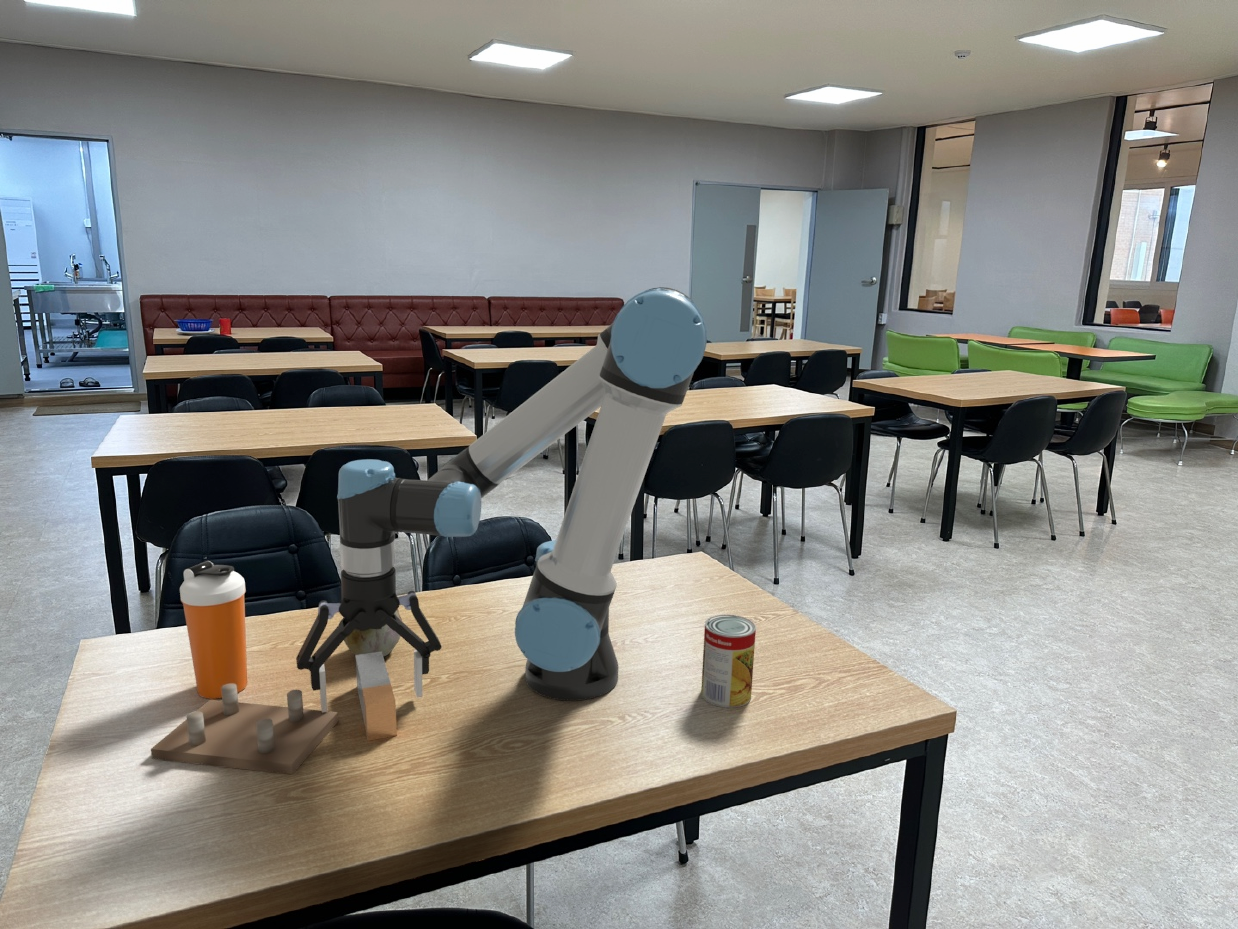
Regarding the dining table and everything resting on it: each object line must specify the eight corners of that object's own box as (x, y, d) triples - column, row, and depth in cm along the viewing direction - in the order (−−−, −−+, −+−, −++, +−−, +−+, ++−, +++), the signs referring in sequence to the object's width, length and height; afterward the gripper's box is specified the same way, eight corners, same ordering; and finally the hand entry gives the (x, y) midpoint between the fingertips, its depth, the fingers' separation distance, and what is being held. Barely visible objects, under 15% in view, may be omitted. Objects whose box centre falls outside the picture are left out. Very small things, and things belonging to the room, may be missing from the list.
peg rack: (338, 721, 121) (336, 687, 119) (292, 774, 108) (289, 737, 107) (211, 708, 123) (207, 675, 122) (151, 759, 111) (147, 722, 109)
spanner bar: (357, 687, 131) (355, 655, 129) (383, 683, 132) (381, 651, 131) (367, 741, 116) (365, 705, 115) (396, 735, 118) (395, 700, 116)
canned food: (757, 690, 133) (762, 621, 130) (740, 713, 126) (745, 640, 123) (712, 678, 136) (716, 610, 133) (693, 699, 129) (696, 628, 127)
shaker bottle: (229, 705, 124) (217, 581, 119) (177, 698, 126) (163, 575, 121) (265, 677, 133) (255, 560, 128) (216, 670, 134) (204, 554, 130)
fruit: (376, 672, 135) (373, 604, 132) (330, 661, 139) (326, 594, 136) (414, 646, 144) (411, 582, 142) (369, 636, 148) (366, 573, 145)
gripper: (450, 550, 127) (450, 675, 132) (273, 566, 117) (281, 700, 122) (460, 568, 120) (460, 699, 125) (274, 587, 110) (282, 727, 116)
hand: (371, 700), depth 124 cm, fingers open, 13 cm apart
